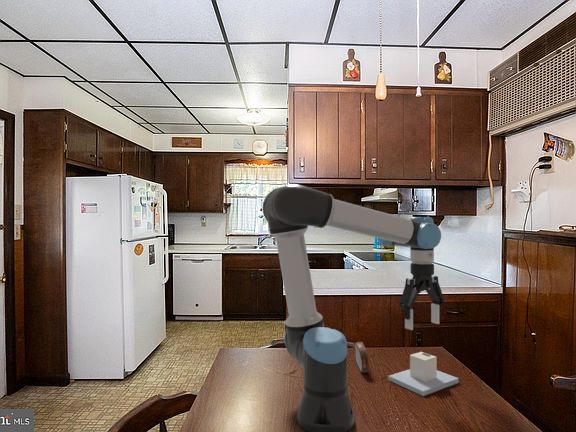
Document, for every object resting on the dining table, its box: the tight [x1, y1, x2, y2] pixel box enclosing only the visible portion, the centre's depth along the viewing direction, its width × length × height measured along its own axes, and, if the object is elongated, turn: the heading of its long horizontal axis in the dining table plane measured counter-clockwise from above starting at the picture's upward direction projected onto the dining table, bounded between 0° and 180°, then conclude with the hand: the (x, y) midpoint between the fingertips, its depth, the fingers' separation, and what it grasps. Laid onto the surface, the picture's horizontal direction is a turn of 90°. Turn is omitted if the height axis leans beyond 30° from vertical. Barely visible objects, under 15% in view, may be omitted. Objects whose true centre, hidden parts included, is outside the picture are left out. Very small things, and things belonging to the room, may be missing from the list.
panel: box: [387, 368, 459, 397], centre depth 126 cm, size 18×14×6 cm
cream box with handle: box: [409, 351, 438, 382], centre depth 126 cm, size 6×6×7 cm
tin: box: [354, 341, 370, 373], centre depth 138 cm, size 15×3×8 cm, turn 178°
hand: (422, 326), depth 127 cm, fingers open, 13 cm apart
